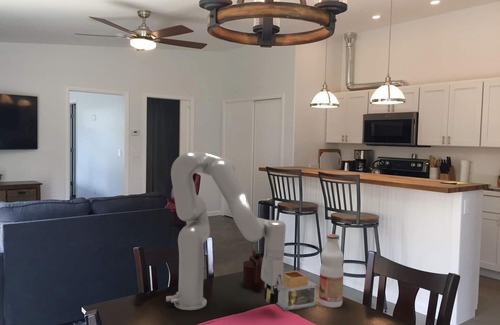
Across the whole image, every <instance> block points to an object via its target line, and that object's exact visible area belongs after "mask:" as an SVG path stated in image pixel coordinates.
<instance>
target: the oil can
mask: <svg viewBox="0 0 500 325" xmlns="http://www.w3.org/2000/svg"><path fill="white" fill-rule="evenodd" d="M251 247H252V248H251V249H252V254H251V255H250V256H249V258H248V259H249V260H246V261H245V260H244V261H243V262H242V265H243V268H242V272H243V273H242V287H244V288H246V289H249V290H262V289H265V283H264V281H263V280H262V279H261V269H262V261H263V259H262V257H261V251H256V247H255V242H251Z"/></svg>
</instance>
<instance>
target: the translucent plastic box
mask: <svg viewBox="0 0 500 325" xmlns="http://www.w3.org/2000/svg"><path fill="white" fill-rule="evenodd" d="M276 284H277V283H276ZM317 287H318V284H316V283H315V282H313V281H311V280H309V276H307V275H306V274H303V272H301V271H299V270H292V271H285V272H284V275H283V284H282V290H280V291H279V293H278V303H275V304H276V305H277V306H278V305H279V308H281V309H282V308H283V310H284V312H289V311H293V310H294V311H295V310H299V309H305V308H313V307H316V306H317V292H318V291H317V290H318V289H317ZM274 288H276V287H274ZM295 290H297V302H296V303H290V302H288V291H295Z"/></svg>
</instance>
